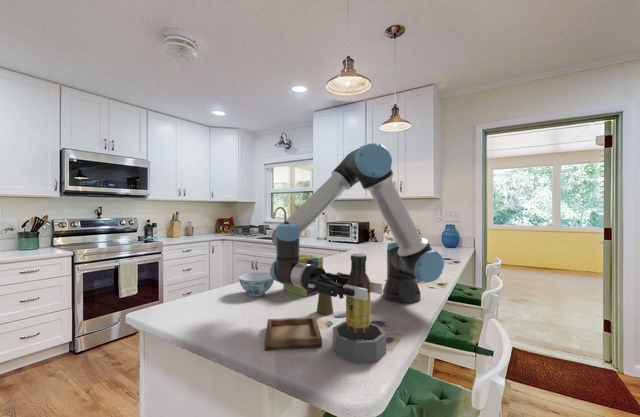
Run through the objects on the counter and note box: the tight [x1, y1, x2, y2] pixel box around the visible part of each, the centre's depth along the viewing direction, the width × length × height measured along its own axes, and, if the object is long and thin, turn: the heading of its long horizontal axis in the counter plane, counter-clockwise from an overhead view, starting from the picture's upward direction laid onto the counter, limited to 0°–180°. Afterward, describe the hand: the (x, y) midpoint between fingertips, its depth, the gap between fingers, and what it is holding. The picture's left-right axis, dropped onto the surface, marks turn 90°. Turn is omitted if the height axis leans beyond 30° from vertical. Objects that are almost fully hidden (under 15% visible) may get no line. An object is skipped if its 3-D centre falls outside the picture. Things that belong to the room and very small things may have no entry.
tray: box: [264, 316, 323, 352], centre depth 84 cm, size 15×15×2 cm
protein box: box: [282, 253, 324, 298], centre depth 129 cm, size 10×15×16 cm
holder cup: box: [332, 321, 387, 365], centre depth 76 cm, size 13×13×5 cm
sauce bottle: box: [345, 253, 371, 333], centre depth 76 cm, size 7×6×20 cm
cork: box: [316, 292, 334, 316], centre depth 103 cm, size 6×6×11 cm
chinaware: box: [238, 271, 275, 297], centre depth 125 cm, size 15×15×8 cm
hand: (374, 291), depth 73 cm, fingers closed on sauce bottle, 6 cm apart
